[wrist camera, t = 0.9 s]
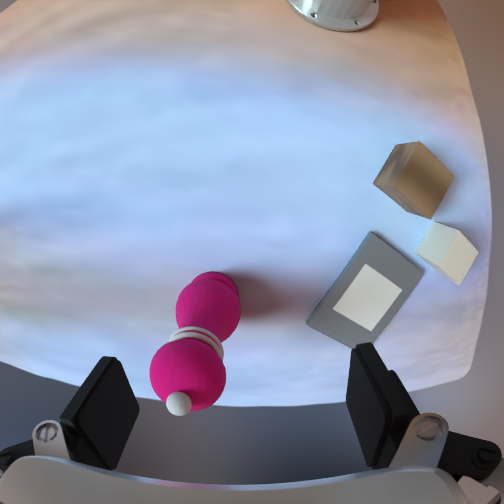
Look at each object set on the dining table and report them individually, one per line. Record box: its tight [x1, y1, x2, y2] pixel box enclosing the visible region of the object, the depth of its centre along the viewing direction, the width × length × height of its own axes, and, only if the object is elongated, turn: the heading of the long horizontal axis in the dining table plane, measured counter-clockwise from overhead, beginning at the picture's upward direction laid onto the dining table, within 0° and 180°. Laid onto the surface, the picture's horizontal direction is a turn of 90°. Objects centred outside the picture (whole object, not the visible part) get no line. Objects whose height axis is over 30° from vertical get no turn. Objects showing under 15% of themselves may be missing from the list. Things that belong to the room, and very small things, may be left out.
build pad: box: [306, 231, 423, 349], centre depth 36 cm, size 14×10×1 cm
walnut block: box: [373, 141, 454, 219], centre depth 29 cm, size 6×6×6 cm
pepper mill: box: [150, 272, 241, 416], centre depth 27 cm, size 7×7×20 cm
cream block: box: [415, 222, 479, 285], centre depth 31 cm, size 5×5×6 cm
